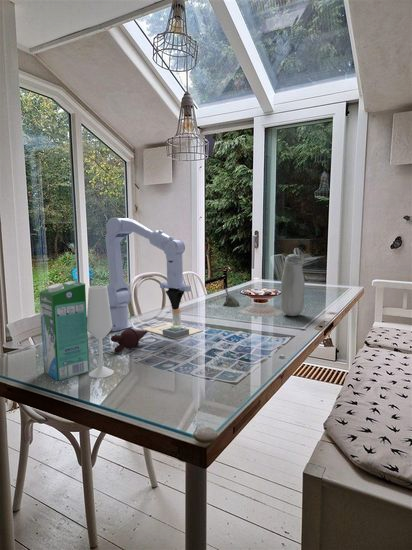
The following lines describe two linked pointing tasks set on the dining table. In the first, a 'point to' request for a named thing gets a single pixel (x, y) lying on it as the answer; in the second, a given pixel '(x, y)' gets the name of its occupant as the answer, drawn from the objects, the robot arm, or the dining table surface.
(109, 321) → the champagne flute
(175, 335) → the button housing
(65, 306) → the milk carton
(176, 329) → the button
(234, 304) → the sword in stone
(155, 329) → the beige board
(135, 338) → the dark red figurine
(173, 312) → the marker
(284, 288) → the grey bottle
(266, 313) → the dining table surface
